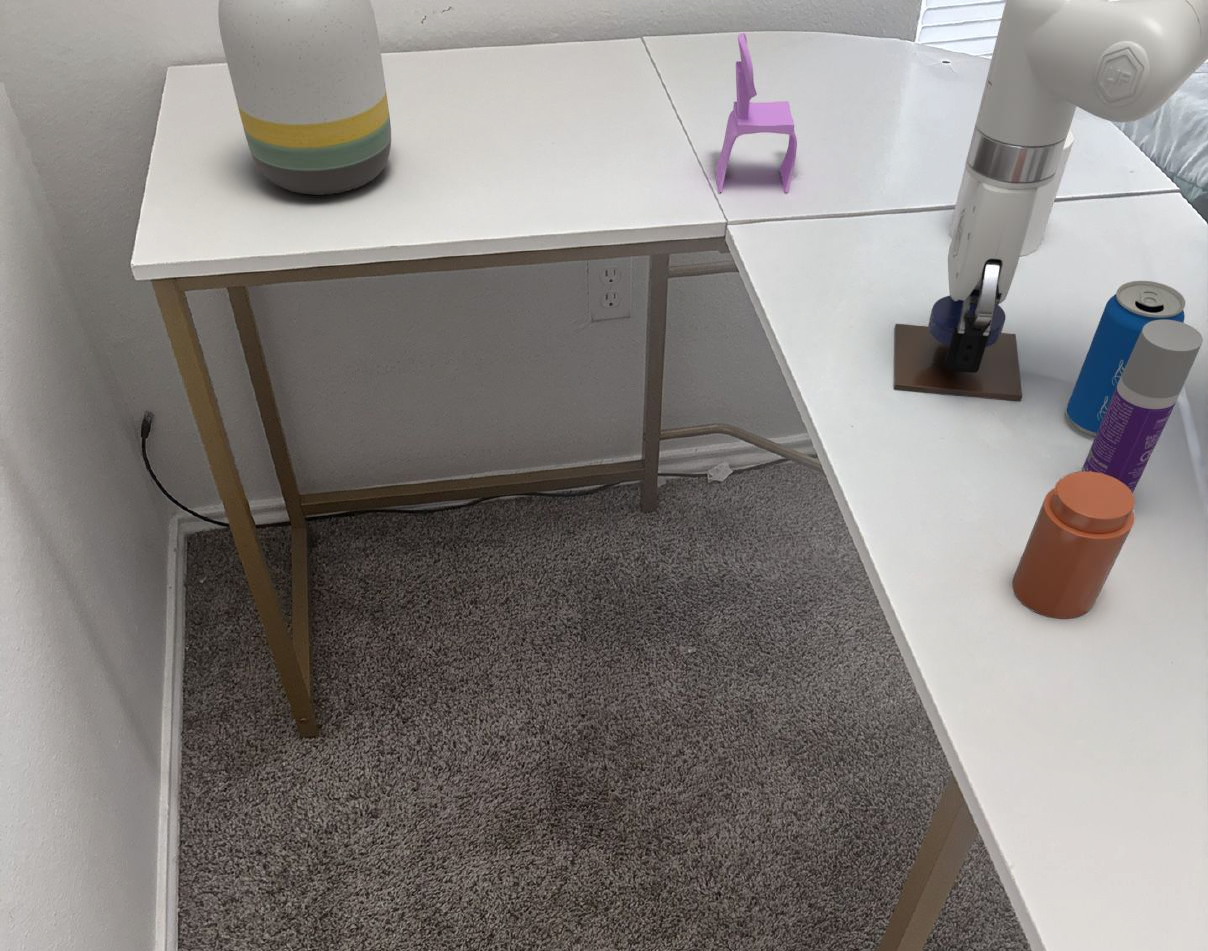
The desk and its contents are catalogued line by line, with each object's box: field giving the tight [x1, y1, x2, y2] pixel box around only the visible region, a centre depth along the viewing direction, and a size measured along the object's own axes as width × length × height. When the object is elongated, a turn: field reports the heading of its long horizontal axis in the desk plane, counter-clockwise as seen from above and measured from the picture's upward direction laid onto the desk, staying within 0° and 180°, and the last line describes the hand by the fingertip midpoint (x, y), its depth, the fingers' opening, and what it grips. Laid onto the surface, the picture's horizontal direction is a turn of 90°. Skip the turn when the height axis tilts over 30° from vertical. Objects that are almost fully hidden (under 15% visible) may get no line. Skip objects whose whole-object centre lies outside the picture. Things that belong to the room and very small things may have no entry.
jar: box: [1011, 471, 1136, 619], centre depth 84 cm, size 7×7×9 cm
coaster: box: [893, 323, 1023, 402], centre depth 107 cm, size 12×11×1 cm
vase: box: [217, 0, 392, 196], centre depth 122 cm, size 17×17×24 cm
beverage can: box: [1065, 280, 1186, 438], centre depth 97 cm, size 6×6×12 cm
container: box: [1080, 320, 1204, 494], centre depth 89 cm, size 5×5×15 cm
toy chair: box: [714, 32, 798, 194], centre depth 125 cm, size 8×9×15 cm
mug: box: [949, 129, 1075, 257], centre depth 118 cm, size 14×10×11 cm
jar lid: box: [927, 294, 1006, 347], centre depth 104 cm, size 7×7×2 cm
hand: (959, 347), depth 106 cm, fingers closed on jar lid, 6 cm apart
